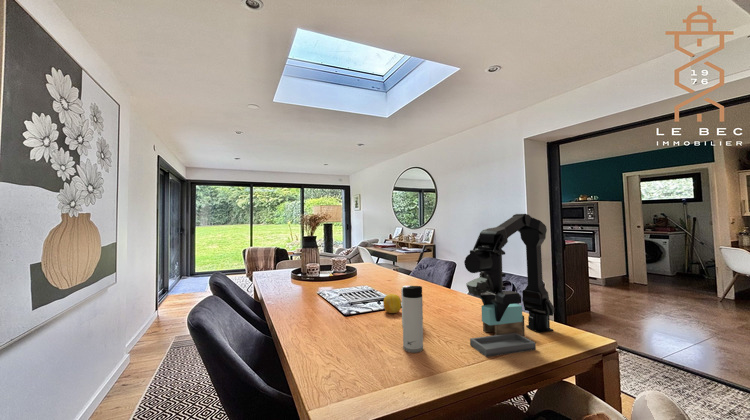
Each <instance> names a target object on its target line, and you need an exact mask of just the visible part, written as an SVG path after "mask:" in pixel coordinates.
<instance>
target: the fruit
mask: <svg viewBox="0 0 750 420" xmlns="http://www.w3.org/2000/svg"><path fill="white" fill-rule="evenodd" d="M382 304H383V308H384V310H385V312H387V313H389V314H396V313H399V312H400V311H401V310H402V298H401V297H400V296H399V295H398V294H396V293H389V294H386V295H385V297H383V303H382Z"/></svg>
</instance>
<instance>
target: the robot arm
mask: <svg viewBox="0 0 750 420" xmlns="http://www.w3.org/2000/svg"><path fill="white" fill-rule="evenodd" d="M547 231H548V230H547V225H546V224H545V223H544V222H542V221H541V220H539V219H537V218H535V217H532V216H531V215H530V214H527V213H515V214H512V217H510V218H509V219H507V220H506V221H503V222H502V223H501V224H499V225H497V226H496V227H495V226H494V227H489V228H486V229H482V230H481V231H480V232H479V235H478V236H477V240H476V242H475V244H474V246H473V248H472V249H470V250H469V254H467V255H466V257H465V258H464V267H465V269H466V270H467V272H469V273H471V274H477V273H479V276H478V277H477V278H474V279H473V280H470V281H468V282H467V283H466V284H465V285H466V288H467V290H468V293H469V295H470V294H471V295H473V296H476V297H478V298H479V299H480V300H481V301H482V304H483V305H492V304H494V307H495V317H496V321H497V322H499V321H500V320H501V318H502V316H503V314H504V312H505V310H506V309H507V307H508V306H509V304H523V305H522V306H523V309H524V311H527V312H528V317H527V318H528V319H527V320H528V322H527V323H528V324H526V325H525V327H526V328H529V329H530V330H532V331H534V332H536V333H540V334H541V333H548V332H554V329H553V328H551V327H550V316H552V317H553V316H554V314H555V309H556V308H555V306H554V305H553V303H552V302H551V300H550V295H549V292H548V291H547V289H546V288H545V286H544V284H543V282H544V281H543V280H544V279H543V264H542V263H543V262H542V245H543V243H544V241H545V240H546V236H547V235H546V234H547ZM516 232H519V234H520V239H521V241H522V242H523V244H524V245H525V251H526V252H525V254H526V256H525V257H526V274H527V275H526V277H527V285H526V286H525V289H523V290H522V291H521V294H520V293H519V292H516V291H513V290H507V288H506V286H505V285H504V283H503V280H504V279H503V278H506V273H505V272H503V256H504V255H506V252H505V250H503V248H504V247H505V246H506V245H507V243H508V242H509V241H508V238H510V237H511V236H512V235H514V234H515V233H516Z"/></svg>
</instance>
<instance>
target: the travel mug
mask: <svg viewBox="0 0 750 420" xmlns="http://www.w3.org/2000/svg"><path fill="white" fill-rule="evenodd" d="M409 286H410V287H403V286H402V287H403V326H402V345H403V346H402V348H403V350H404V351H406V352H407V353H413V354H415V353H416V354H417V353H420V352H422V351H423V350H424V327H423V326H424V324H423V323H424V320H423V319H424V316H423V314H424V312H423V311H424V310H423V308H424V307H423V306H424V305H423V286H421V285H409Z"/></svg>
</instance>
